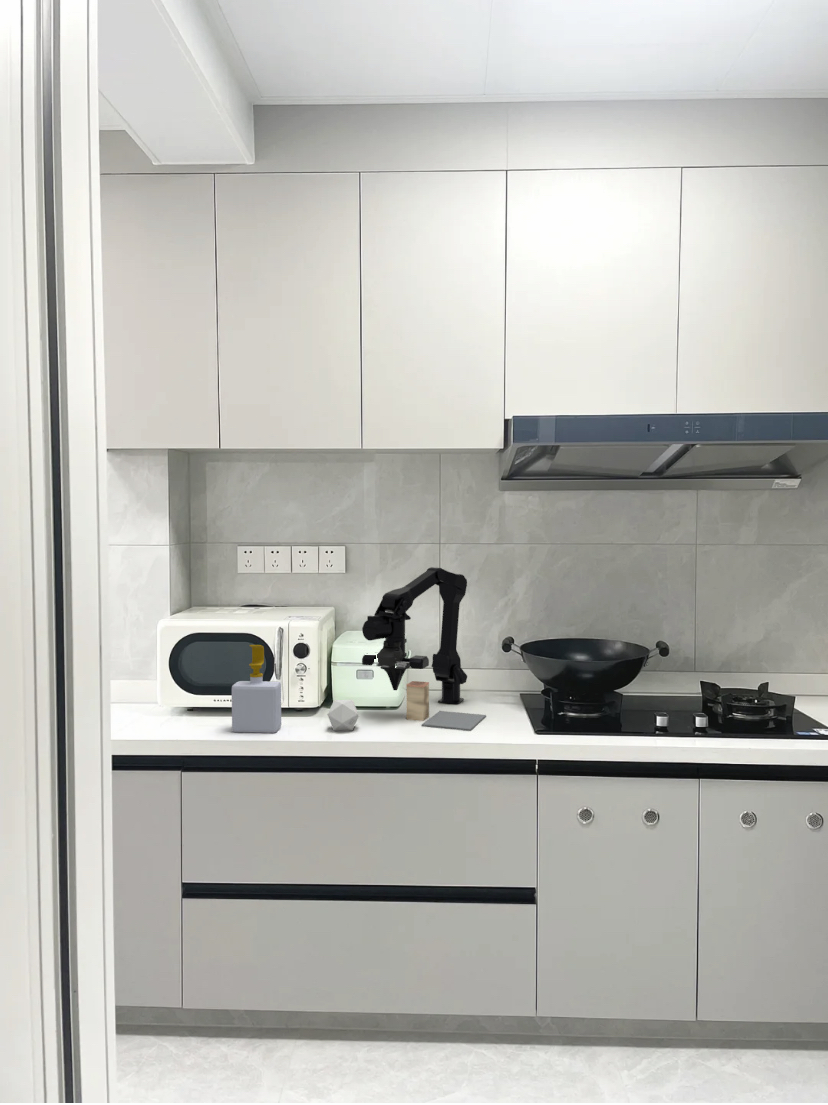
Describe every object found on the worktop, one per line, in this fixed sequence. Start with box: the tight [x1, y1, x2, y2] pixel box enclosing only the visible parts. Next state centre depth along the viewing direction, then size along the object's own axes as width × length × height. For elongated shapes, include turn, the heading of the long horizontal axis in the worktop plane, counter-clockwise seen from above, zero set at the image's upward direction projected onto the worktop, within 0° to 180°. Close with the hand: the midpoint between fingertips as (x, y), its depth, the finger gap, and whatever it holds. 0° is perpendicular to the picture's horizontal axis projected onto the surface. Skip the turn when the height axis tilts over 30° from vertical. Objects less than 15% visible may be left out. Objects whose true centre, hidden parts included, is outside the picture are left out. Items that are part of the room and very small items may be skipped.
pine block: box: [406, 680, 430, 722], centre depth 236 cm, size 5×5×10 cm
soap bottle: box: [231, 644, 282, 734], centre depth 223 cm, size 12×7×23 cm, turn 87°
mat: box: [421, 710, 487, 732], centre depth 232 cm, size 16×14×1 cm
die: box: [327, 699, 360, 732], centre depth 224 cm, size 8×9×10 cm
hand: (395, 690), depth 238 cm, fingers closed
